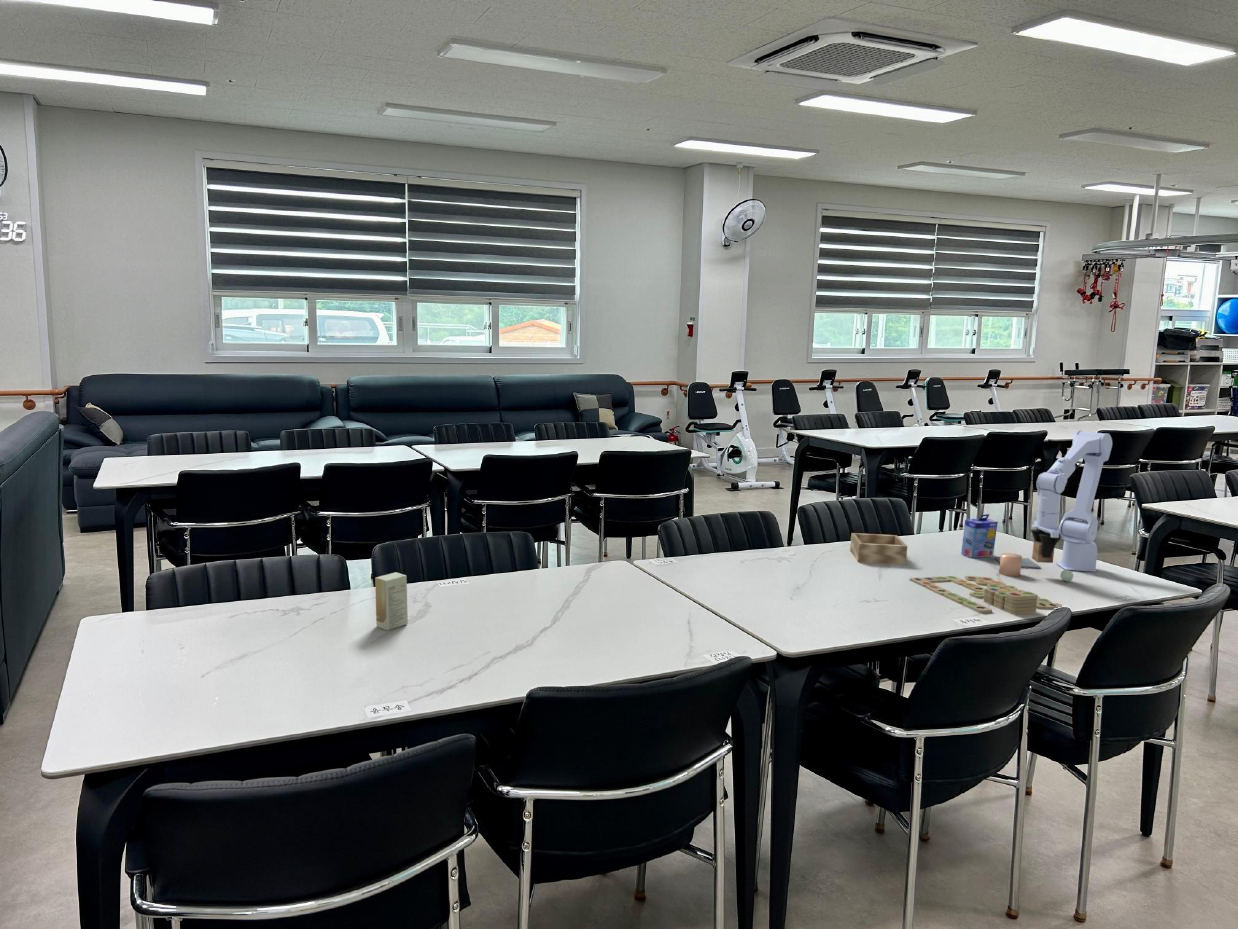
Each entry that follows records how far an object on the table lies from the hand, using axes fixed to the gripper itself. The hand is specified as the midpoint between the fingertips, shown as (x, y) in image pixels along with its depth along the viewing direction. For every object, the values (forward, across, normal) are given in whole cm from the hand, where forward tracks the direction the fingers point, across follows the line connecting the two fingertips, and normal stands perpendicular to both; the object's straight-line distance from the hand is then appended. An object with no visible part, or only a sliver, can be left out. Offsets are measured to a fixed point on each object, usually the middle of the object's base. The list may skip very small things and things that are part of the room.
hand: (1043, 555), depth 271 cm
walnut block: (+2, 0, 0) cm, 2 cm away
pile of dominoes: (+7, +23, -24) cm, 34 cm away
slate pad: (+7, -15, -2) cm, 17 cm away
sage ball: (+7, +4, +6) cm, 10 cm away
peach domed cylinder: (+7, -1, -9) cm, 11 cm away
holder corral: (+6, -13, -47) cm, 49 cm away
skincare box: (+6, +79, -178) cm, 195 cm away
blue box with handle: (+7, -23, -12) cm, 27 cm away
